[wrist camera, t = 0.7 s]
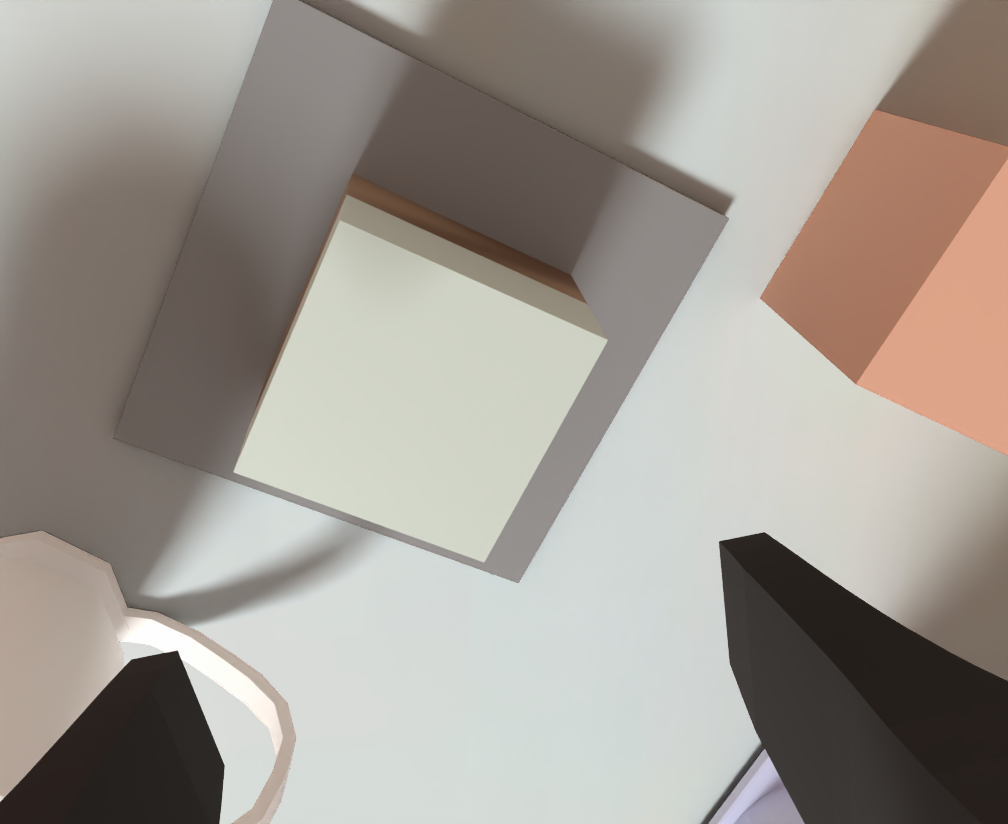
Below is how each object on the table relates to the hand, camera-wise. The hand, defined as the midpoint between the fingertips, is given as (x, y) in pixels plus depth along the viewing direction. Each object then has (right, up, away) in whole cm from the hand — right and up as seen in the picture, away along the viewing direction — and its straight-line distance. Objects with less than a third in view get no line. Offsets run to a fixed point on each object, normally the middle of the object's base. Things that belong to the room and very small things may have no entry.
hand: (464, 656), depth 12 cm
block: (+9, +7, +9) cm, 14 cm away
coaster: (-1, +5, +8) cm, 10 cm away
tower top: (-1, +4, +6) cm, 7 cm away
